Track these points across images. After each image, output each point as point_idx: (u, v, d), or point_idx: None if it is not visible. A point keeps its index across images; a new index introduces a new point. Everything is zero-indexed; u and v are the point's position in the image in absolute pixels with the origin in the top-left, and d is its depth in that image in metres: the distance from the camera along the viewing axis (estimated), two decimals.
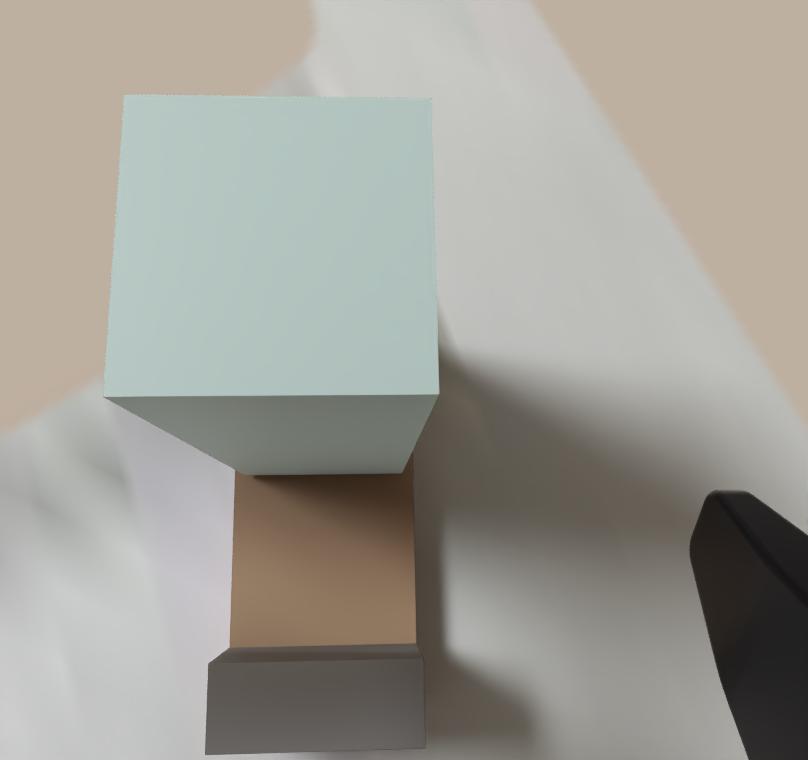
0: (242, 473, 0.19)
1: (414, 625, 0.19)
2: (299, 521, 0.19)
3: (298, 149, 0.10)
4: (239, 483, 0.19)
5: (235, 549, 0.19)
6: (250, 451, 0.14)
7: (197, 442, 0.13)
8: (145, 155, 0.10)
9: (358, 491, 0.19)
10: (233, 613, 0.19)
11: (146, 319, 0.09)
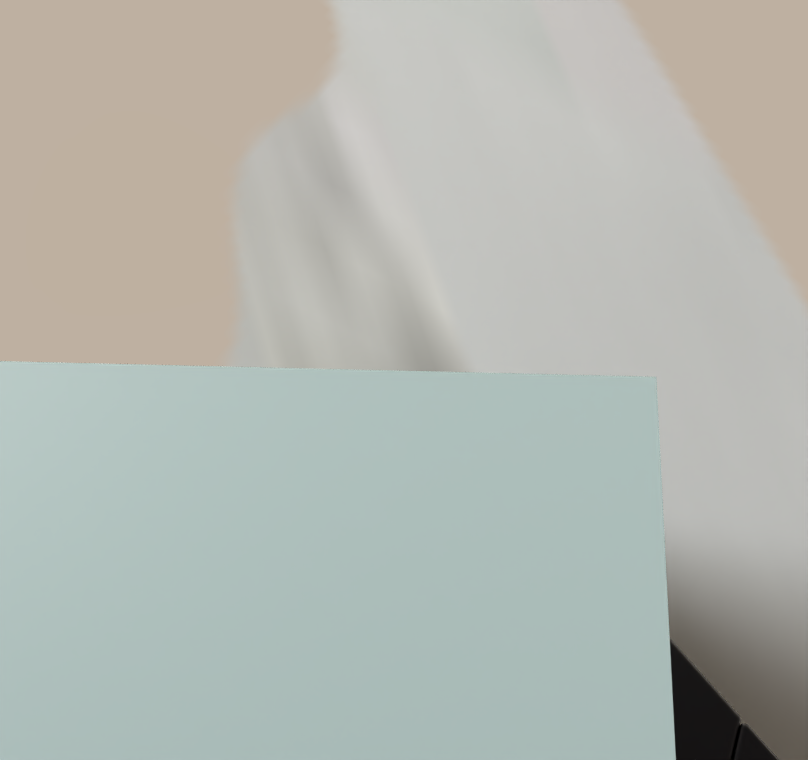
0: None
1: None
2: None
3: (308, 523, 0.04)
4: None
5: None
6: None
7: None
8: None
9: None
10: None
11: None
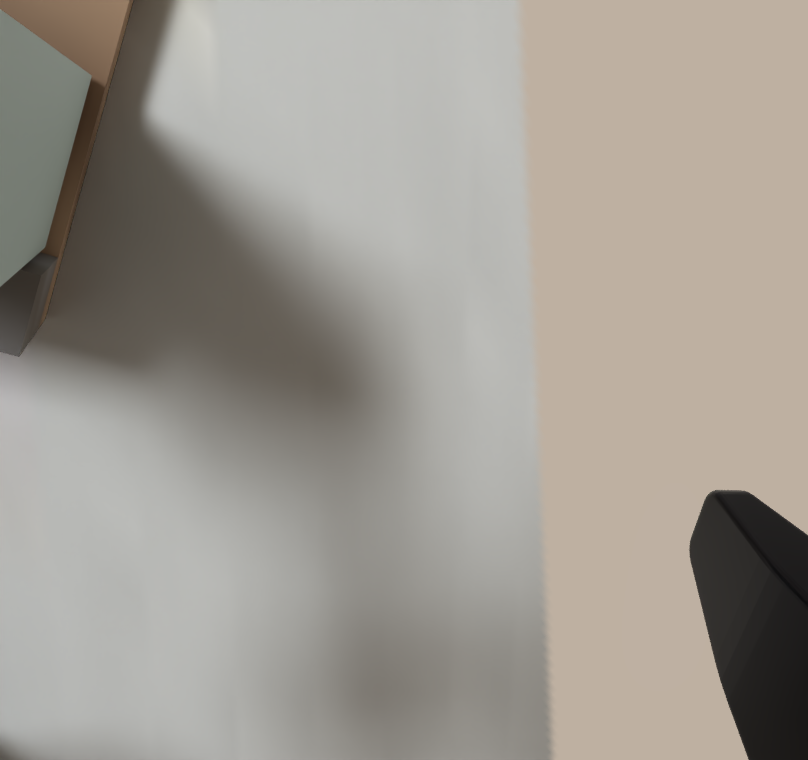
0: None
1: (61, 240, 0.18)
2: None
3: None
4: None
5: None
6: None
7: None
8: None
9: None
10: None
11: None
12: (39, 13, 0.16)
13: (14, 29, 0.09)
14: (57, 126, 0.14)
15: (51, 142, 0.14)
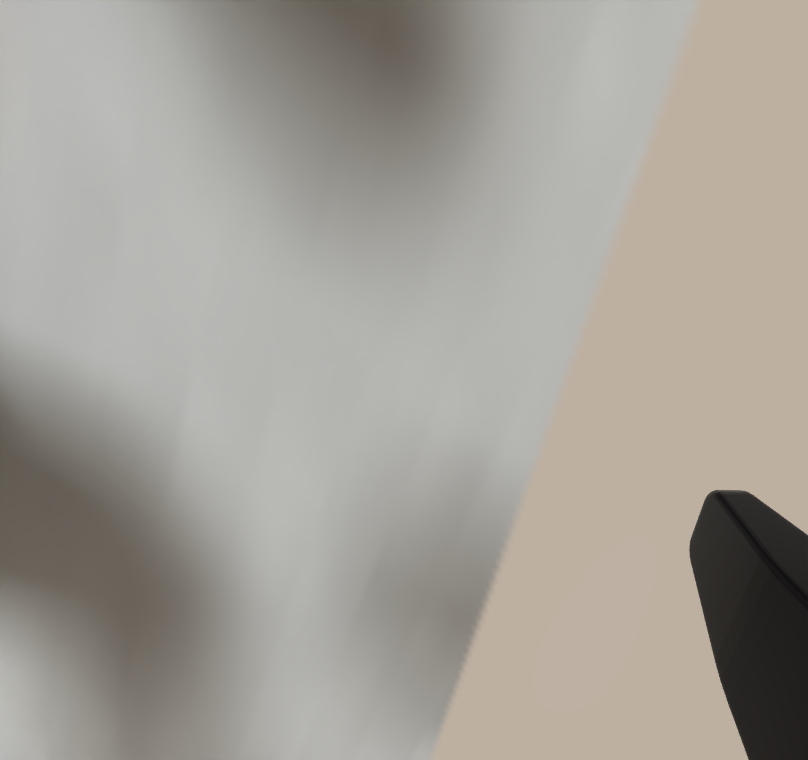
0: None
1: None
2: None
3: None
4: None
5: None
6: None
7: None
8: None
9: None
10: None
11: None
12: None
13: None
14: None
15: None
